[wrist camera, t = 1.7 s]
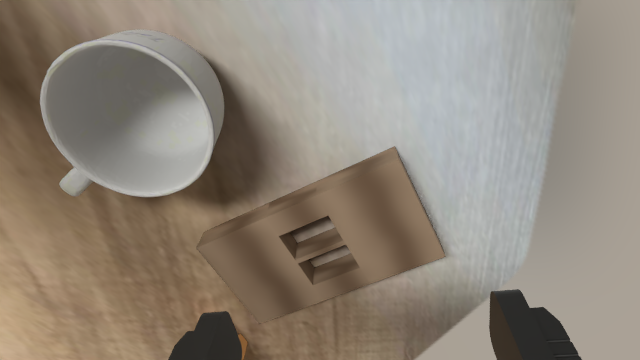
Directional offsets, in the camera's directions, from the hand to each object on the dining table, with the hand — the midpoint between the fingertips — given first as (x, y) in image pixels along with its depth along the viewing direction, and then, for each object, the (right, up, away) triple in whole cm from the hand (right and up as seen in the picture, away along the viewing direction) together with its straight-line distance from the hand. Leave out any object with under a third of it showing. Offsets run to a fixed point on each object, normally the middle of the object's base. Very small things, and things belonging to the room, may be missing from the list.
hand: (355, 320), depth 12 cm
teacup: (-15, +11, +21) cm, 28 cm away
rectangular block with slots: (-1, -1, +26) cm, 26 cm away
